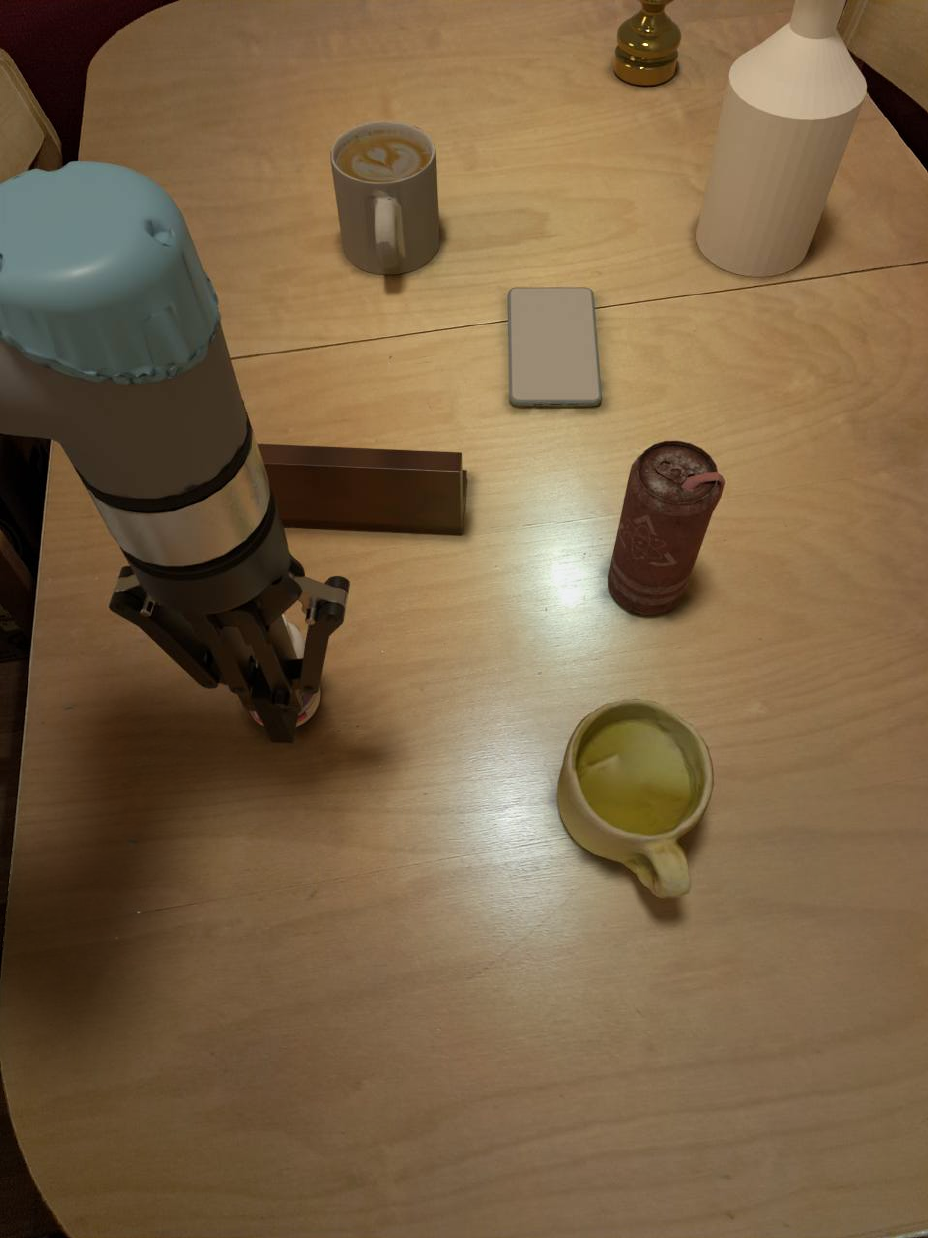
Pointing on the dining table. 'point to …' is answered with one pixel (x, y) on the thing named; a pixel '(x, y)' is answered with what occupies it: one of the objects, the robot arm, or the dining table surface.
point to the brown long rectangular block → (367, 488)
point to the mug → (636, 789)
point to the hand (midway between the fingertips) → (285, 724)
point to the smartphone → (553, 347)
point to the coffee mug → (386, 196)
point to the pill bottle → (309, 699)
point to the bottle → (780, 144)
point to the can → (663, 525)
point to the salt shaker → (647, 45)
